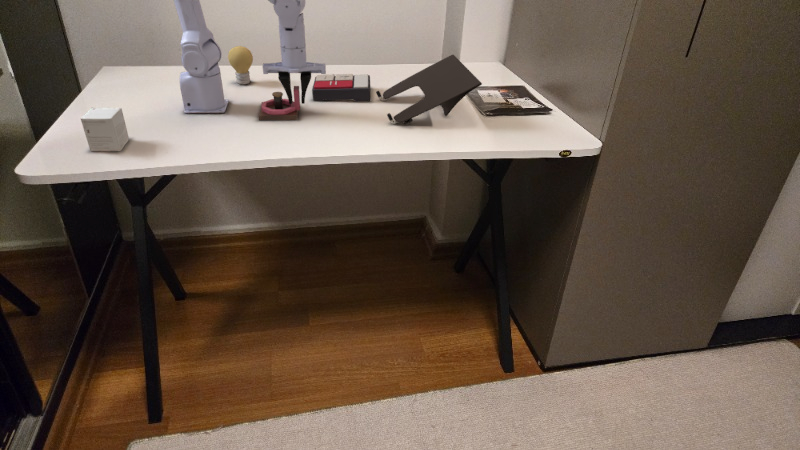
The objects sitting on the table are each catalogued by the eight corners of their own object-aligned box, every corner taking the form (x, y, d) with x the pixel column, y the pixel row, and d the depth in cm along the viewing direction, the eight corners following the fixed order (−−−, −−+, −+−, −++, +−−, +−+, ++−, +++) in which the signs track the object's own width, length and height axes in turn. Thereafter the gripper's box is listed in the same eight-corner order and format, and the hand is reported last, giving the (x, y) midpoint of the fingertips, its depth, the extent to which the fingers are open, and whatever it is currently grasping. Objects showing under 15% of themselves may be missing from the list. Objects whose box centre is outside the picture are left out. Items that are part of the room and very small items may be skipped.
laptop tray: (387, 115, 146) (373, 87, 141) (462, 77, 144) (450, 46, 139) (405, 151, 128) (389, 120, 122) (490, 108, 126) (479, 74, 120)
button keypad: (315, 73, 144) (369, 72, 145) (316, 88, 146) (370, 87, 147) (311, 87, 135) (369, 85, 136) (313, 103, 137) (370, 101, 138)
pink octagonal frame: (260, 114, 125) (258, 93, 122) (263, 102, 132) (261, 82, 129) (299, 114, 126) (298, 93, 123) (300, 102, 133) (299, 82, 130)
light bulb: (260, 82, 147) (256, 46, 141) (243, 88, 142) (238, 51, 137) (244, 77, 150) (239, 42, 144) (226, 83, 145) (221, 46, 140)
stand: (258, 120, 125) (256, 100, 122) (262, 106, 133) (260, 87, 130) (297, 120, 126) (295, 100, 124) (298, 106, 134) (297, 87, 131)
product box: (89, 151, 108) (79, 118, 104) (100, 139, 113) (90, 106, 109) (120, 151, 109) (111, 118, 105) (130, 139, 114) (121, 107, 110)
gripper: (259, 50, 117) (265, 108, 124) (324, 50, 119) (327, 108, 126) (261, 41, 122) (267, 97, 130) (324, 42, 124) (326, 97, 132)
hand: (297, 102), depth 128 cm, fingers closed
